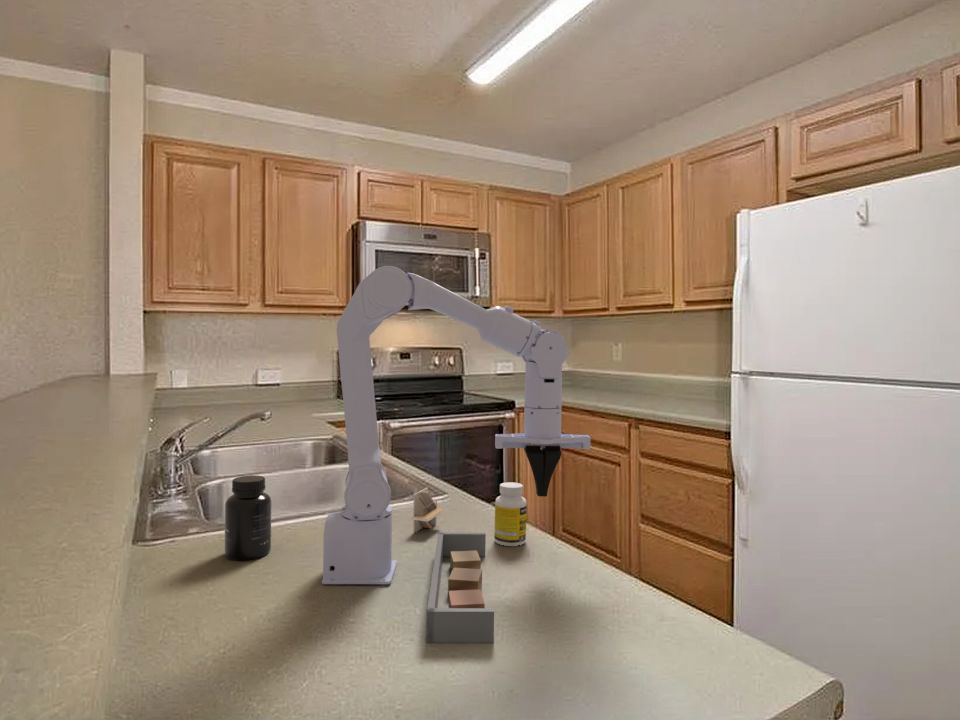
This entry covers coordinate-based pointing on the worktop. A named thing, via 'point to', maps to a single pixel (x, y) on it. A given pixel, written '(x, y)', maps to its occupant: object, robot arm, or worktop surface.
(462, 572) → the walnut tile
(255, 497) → the supplement bottle
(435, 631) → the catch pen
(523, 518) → the supplement bottle
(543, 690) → the worktop surface
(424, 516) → the architectural model
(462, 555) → the oak tile
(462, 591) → the cherry tile
